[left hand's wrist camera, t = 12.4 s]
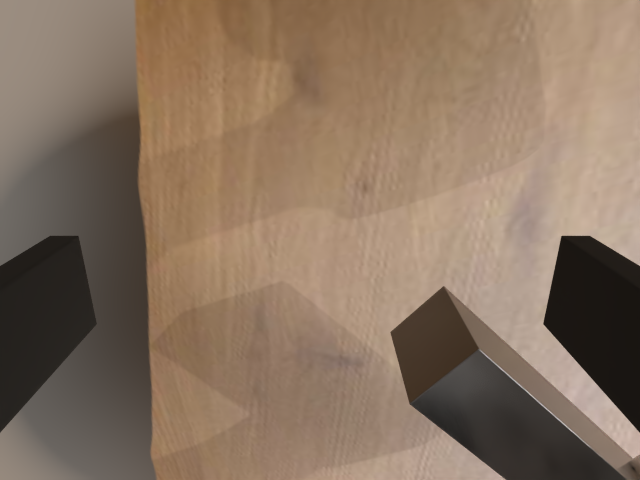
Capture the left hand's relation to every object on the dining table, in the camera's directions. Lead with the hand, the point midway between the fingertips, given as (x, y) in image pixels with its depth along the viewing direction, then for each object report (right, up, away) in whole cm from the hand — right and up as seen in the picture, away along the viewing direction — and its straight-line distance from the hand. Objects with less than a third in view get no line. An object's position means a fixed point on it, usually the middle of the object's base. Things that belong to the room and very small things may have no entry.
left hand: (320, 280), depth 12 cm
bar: (+17, -12, +25) cm, 33 cm away
